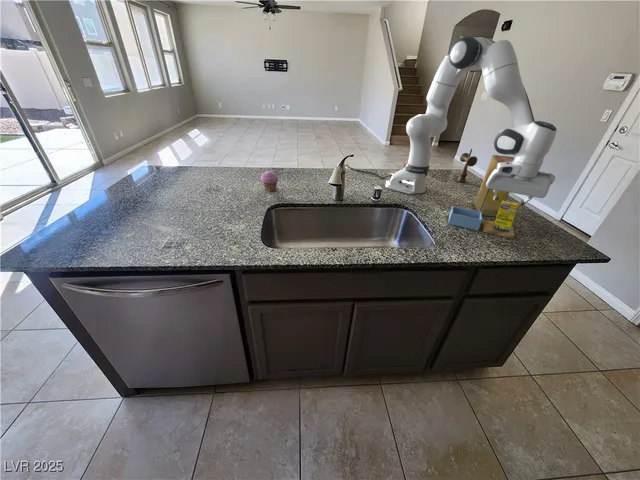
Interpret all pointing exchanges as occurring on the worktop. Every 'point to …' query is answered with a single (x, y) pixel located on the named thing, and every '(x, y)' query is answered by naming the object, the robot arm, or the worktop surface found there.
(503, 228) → the supplement box
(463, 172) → the kendama
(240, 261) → the worktop surface
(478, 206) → the food packaging
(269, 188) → the cupcake
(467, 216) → the basket
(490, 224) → the oak board
